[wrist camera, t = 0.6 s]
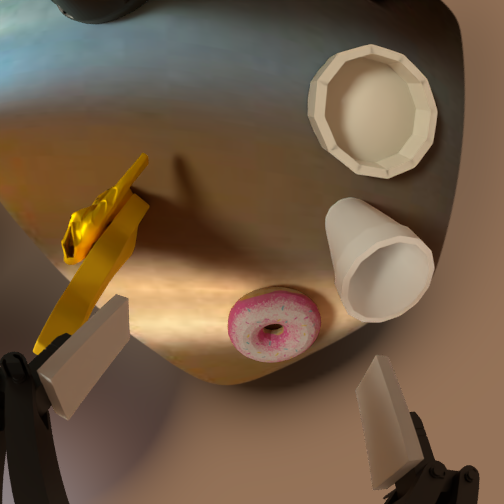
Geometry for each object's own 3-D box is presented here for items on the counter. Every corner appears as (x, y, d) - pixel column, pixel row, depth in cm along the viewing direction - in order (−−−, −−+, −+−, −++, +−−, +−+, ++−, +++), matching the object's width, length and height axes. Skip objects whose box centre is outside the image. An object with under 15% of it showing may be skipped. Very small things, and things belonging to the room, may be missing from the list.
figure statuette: (143, 136, 28) (0, 215, 9) (192, 181, 31) (112, 316, 12) (76, 235, 34) (-16, 346, 15) (115, 269, 37) (45, 396, 18)
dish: (311, 40, 23) (320, 32, 19) (422, 70, 23) (441, 69, 20) (301, 159, 30) (308, 168, 26) (408, 175, 30) (424, 185, 27)
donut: (305, 267, 37) (312, 290, 33) (325, 330, 44) (331, 353, 39) (213, 295, 40) (209, 319, 35) (247, 351, 46) (247, 375, 42)
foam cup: (391, 193, 32) (448, 244, 20) (370, 256, 36) (409, 322, 25) (321, 179, 31) (360, 228, 20) (305, 248, 36) (327, 320, 24)
